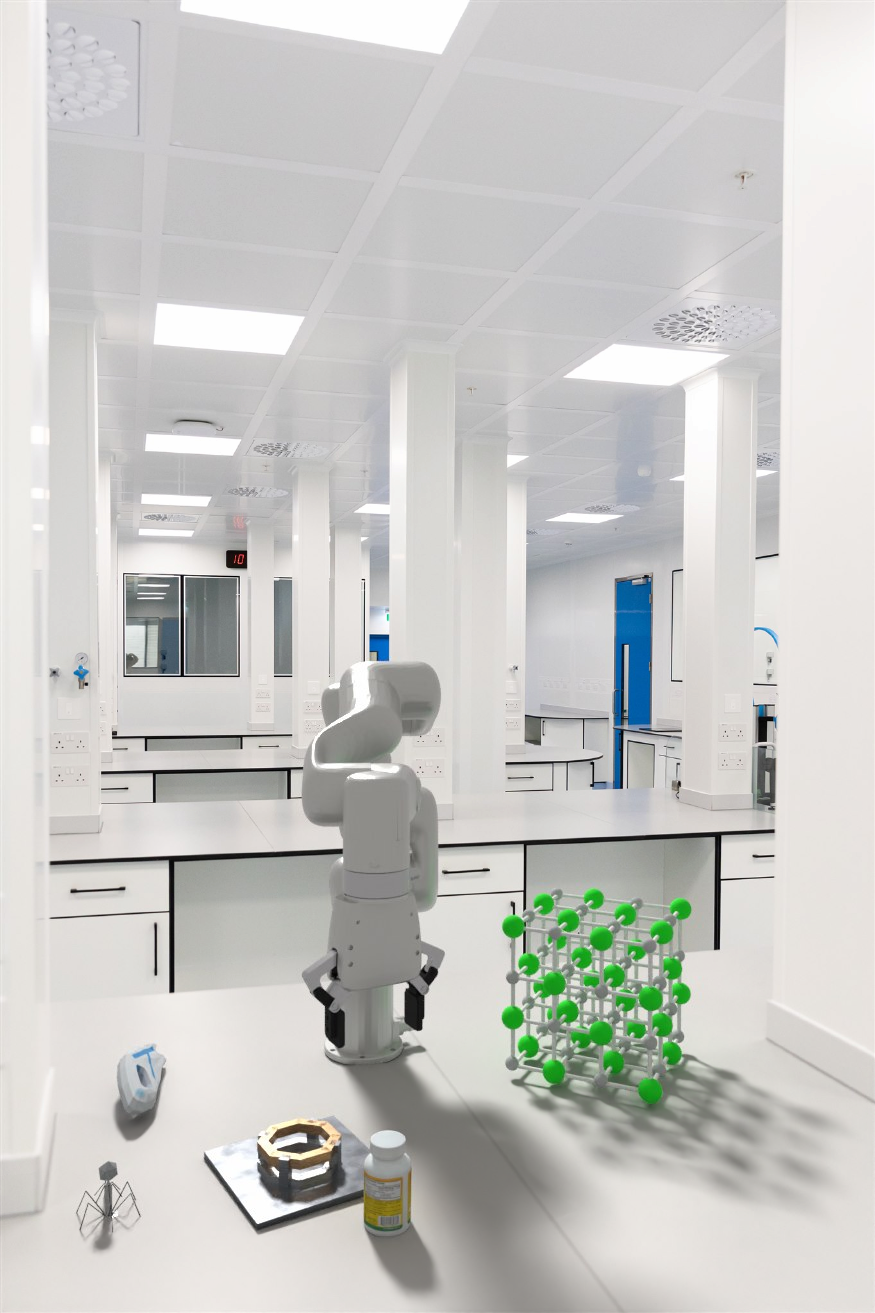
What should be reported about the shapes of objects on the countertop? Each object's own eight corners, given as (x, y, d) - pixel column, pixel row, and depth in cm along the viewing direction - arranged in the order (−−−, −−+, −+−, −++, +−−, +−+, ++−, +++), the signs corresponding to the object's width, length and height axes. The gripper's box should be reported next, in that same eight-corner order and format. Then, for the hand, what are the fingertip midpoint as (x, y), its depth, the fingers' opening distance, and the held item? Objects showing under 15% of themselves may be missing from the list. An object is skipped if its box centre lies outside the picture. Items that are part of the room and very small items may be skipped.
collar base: (333, 1123, 132) (333, 1092, 132) (399, 1185, 117) (399, 1151, 117) (204, 1159, 123) (204, 1126, 123) (257, 1233, 107) (257, 1195, 107)
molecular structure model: (692, 1044, 159) (693, 896, 159) (659, 1110, 136) (660, 938, 136) (550, 1019, 169) (551, 880, 169) (497, 1077, 147) (498, 916, 146)
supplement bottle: (388, 1245, 105) (388, 1156, 105) (353, 1226, 109) (353, 1140, 109) (421, 1222, 109) (421, 1137, 109) (386, 1204, 113) (386, 1122, 113)
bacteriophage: (78, 1248, 105) (78, 1186, 105) (72, 1209, 112) (72, 1151, 112) (145, 1232, 108) (145, 1171, 108) (135, 1194, 115) (134, 1138, 115)
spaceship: (118, 1080, 129) (96, 1108, 129) (158, 1109, 130) (136, 1137, 130) (137, 1024, 152) (118, 1048, 152) (171, 1049, 153) (152, 1073, 152)
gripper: (426, 868, 117) (426, 1010, 117) (291, 884, 108) (290, 1039, 108) (459, 881, 110) (458, 1032, 111) (317, 899, 102) (317, 1063, 102)
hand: (375, 1035), depth 109 cm, fingers open, 9 cm apart
